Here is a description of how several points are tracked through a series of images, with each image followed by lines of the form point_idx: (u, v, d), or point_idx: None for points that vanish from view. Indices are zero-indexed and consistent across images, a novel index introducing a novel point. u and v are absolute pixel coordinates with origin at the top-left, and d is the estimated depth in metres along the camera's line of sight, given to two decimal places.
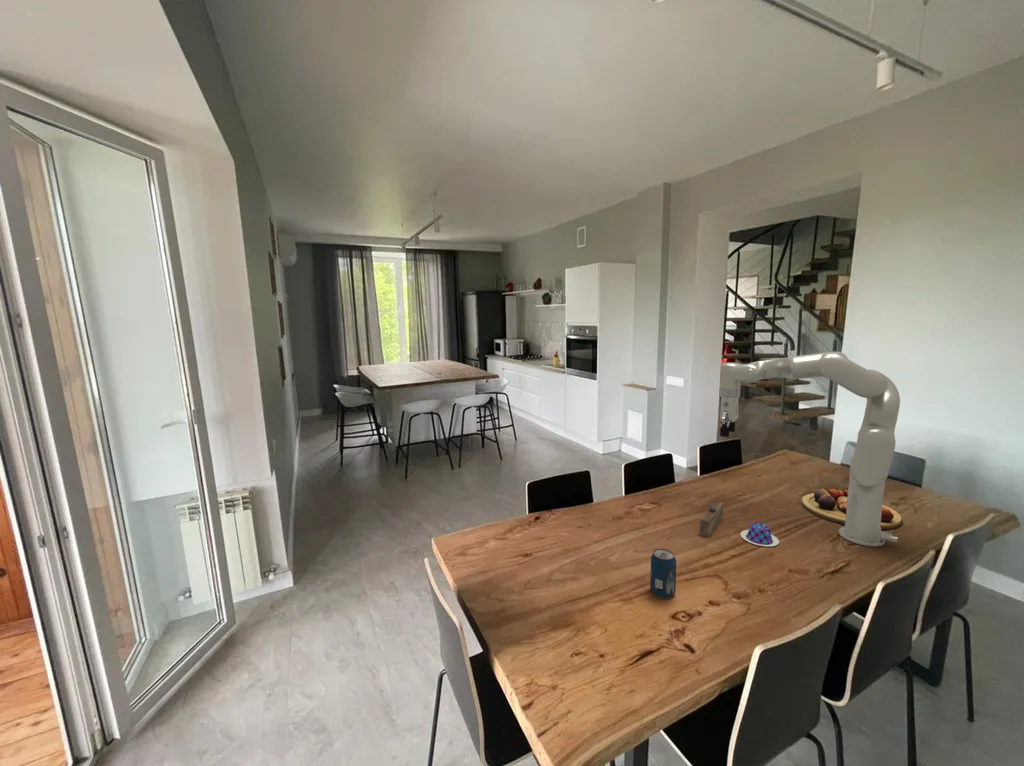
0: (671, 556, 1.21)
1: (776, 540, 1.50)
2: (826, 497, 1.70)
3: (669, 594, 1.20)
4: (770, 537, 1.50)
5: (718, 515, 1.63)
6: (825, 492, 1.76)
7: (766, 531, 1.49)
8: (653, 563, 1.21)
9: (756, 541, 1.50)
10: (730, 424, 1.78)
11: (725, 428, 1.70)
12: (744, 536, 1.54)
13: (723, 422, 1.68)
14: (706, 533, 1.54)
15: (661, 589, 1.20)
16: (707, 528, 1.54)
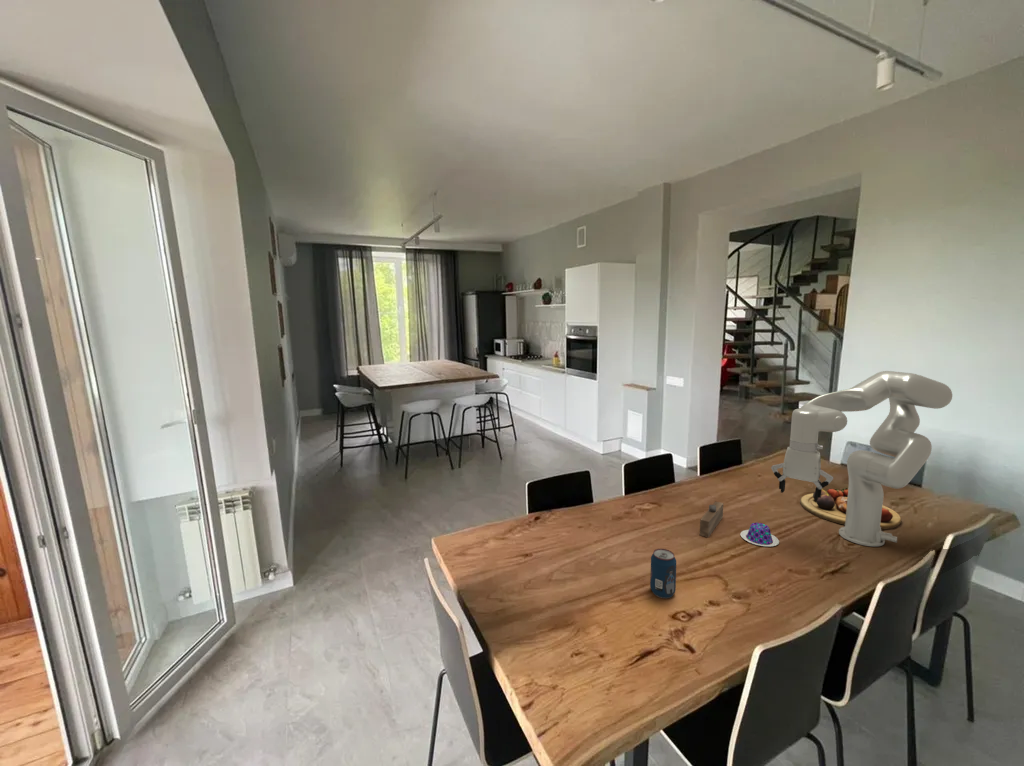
0: (671, 556, 1.21)
1: (776, 540, 1.50)
2: (825, 497, 1.70)
3: (669, 594, 1.20)
4: (770, 537, 1.50)
5: (718, 515, 1.63)
6: (824, 492, 1.76)
7: (766, 531, 1.49)
8: (653, 563, 1.21)
9: (756, 541, 1.50)
10: (784, 483, 1.46)
11: (821, 488, 1.39)
12: (744, 536, 1.54)
13: (829, 482, 1.37)
14: (706, 533, 1.54)
15: (661, 589, 1.20)
16: (707, 528, 1.54)
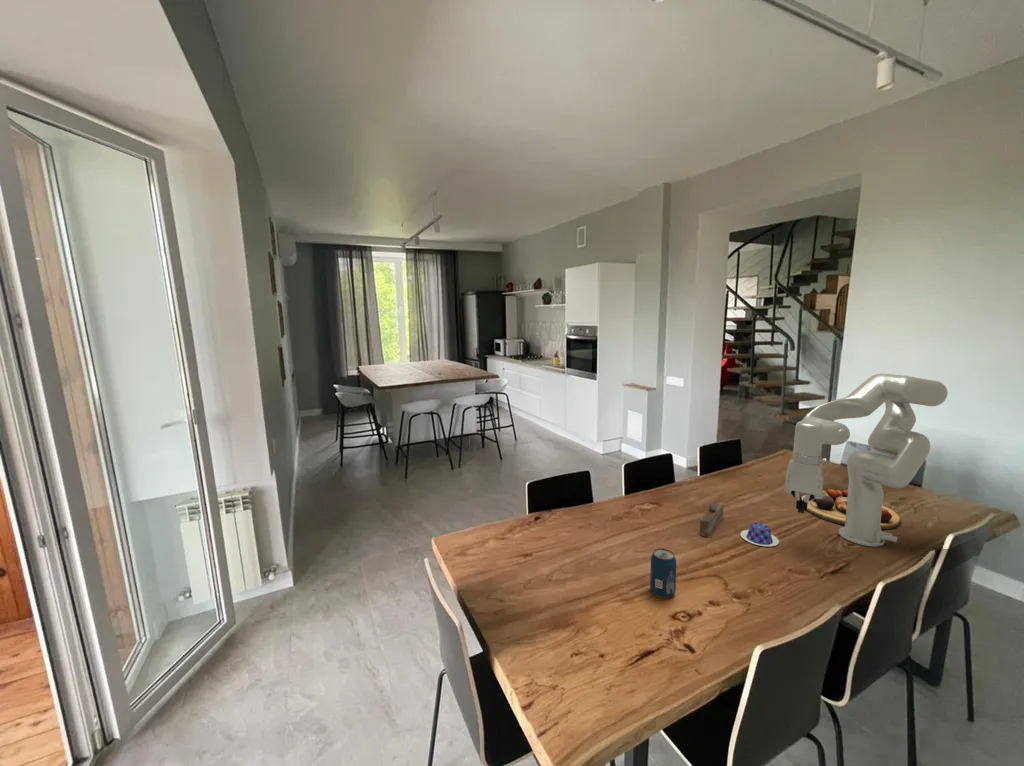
0: (671, 556, 1.21)
1: (776, 540, 1.51)
2: (824, 497, 1.69)
3: (669, 594, 1.20)
4: (770, 537, 1.50)
5: (718, 515, 1.63)
6: (823, 492, 1.76)
7: (766, 531, 1.49)
8: (653, 563, 1.21)
9: (756, 541, 1.50)
10: None
11: (807, 502, 1.41)
12: (744, 536, 1.54)
13: None
14: (706, 533, 1.54)
15: (661, 589, 1.20)
16: (707, 528, 1.54)
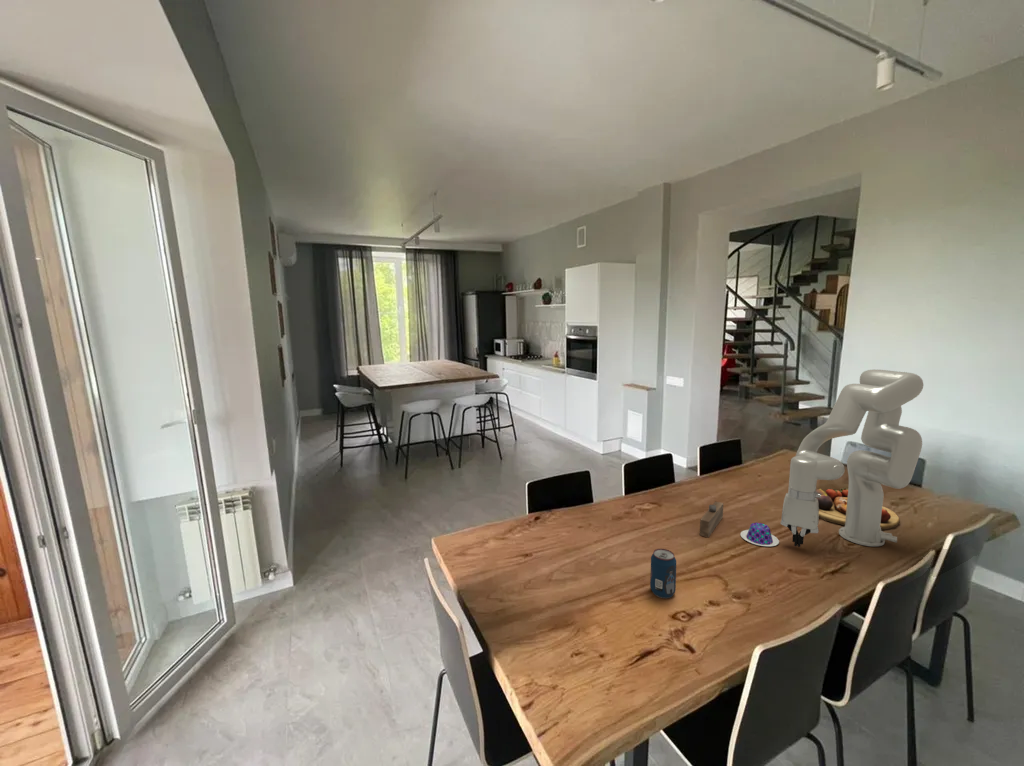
0: (671, 556, 1.21)
1: (776, 539, 1.51)
2: (823, 497, 1.69)
3: (669, 594, 1.20)
4: (770, 537, 1.50)
5: (718, 515, 1.63)
6: (822, 492, 1.76)
7: (767, 531, 1.49)
8: (653, 563, 1.21)
9: (757, 541, 1.49)
10: None
11: (803, 535, 1.44)
12: (744, 536, 1.54)
13: None
14: (706, 533, 1.54)
15: (661, 589, 1.20)
16: (707, 528, 1.54)
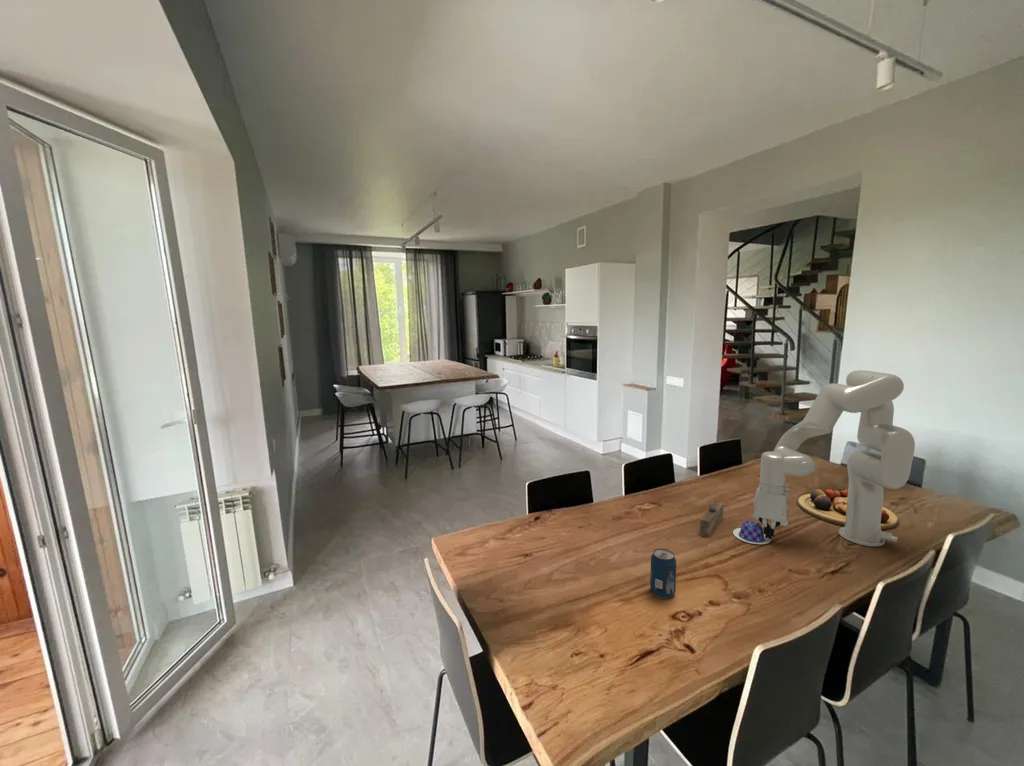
0: (671, 556, 1.21)
1: None
2: (822, 497, 1.69)
3: (669, 594, 1.20)
4: (762, 535, 1.51)
5: (718, 515, 1.63)
6: (821, 492, 1.76)
7: (759, 529, 1.50)
8: (653, 563, 1.21)
9: (749, 539, 1.51)
10: None
11: None
12: (737, 535, 1.55)
13: None
14: (706, 533, 1.54)
15: (661, 589, 1.20)
16: (707, 528, 1.54)
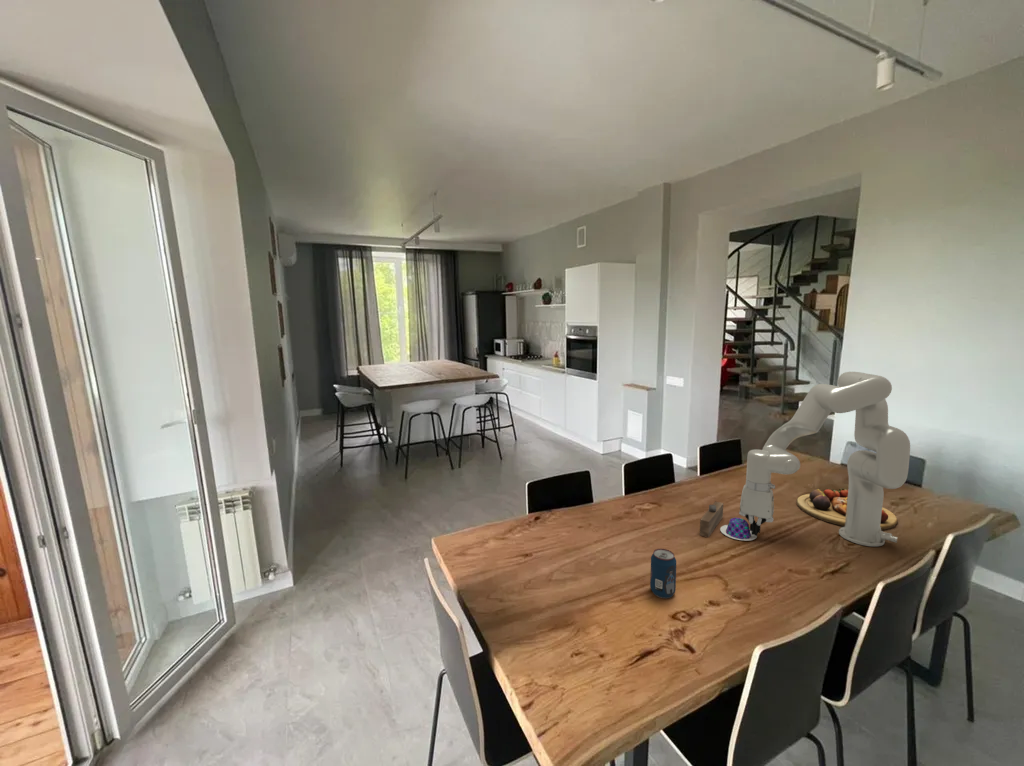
0: (671, 556, 1.21)
1: None
2: (821, 497, 1.69)
3: (669, 594, 1.20)
4: (749, 531, 1.54)
5: (718, 515, 1.63)
6: (820, 492, 1.75)
7: (745, 525, 1.53)
8: (653, 563, 1.21)
9: (736, 536, 1.53)
10: None
11: (760, 524, 1.52)
12: (724, 532, 1.57)
13: None
14: (706, 533, 1.54)
15: (661, 589, 1.20)
16: (707, 528, 1.54)
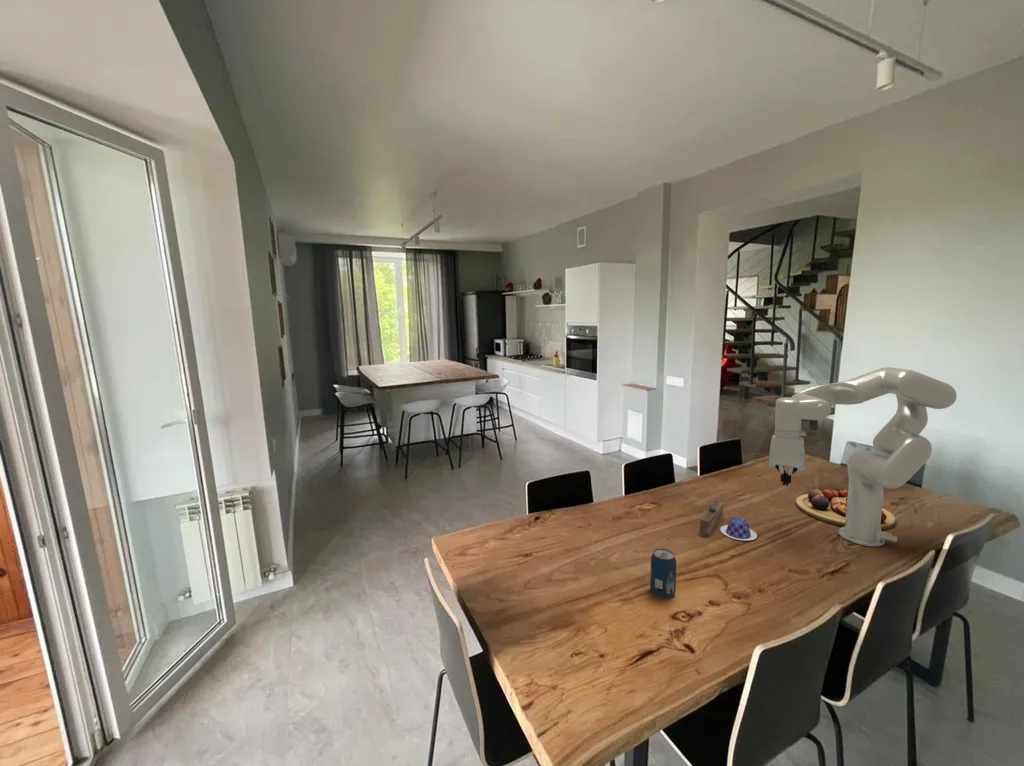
0: (671, 556, 1.21)
1: (754, 534, 1.55)
2: (819, 497, 1.69)
3: (669, 594, 1.20)
4: (749, 531, 1.54)
5: (718, 515, 1.63)
6: (819, 493, 1.75)
7: (745, 526, 1.53)
8: (653, 563, 1.21)
9: (736, 536, 1.54)
10: None
11: (791, 474, 1.48)
12: (724, 531, 1.58)
13: None
14: (706, 533, 1.54)
15: (661, 589, 1.20)
16: (707, 528, 1.54)
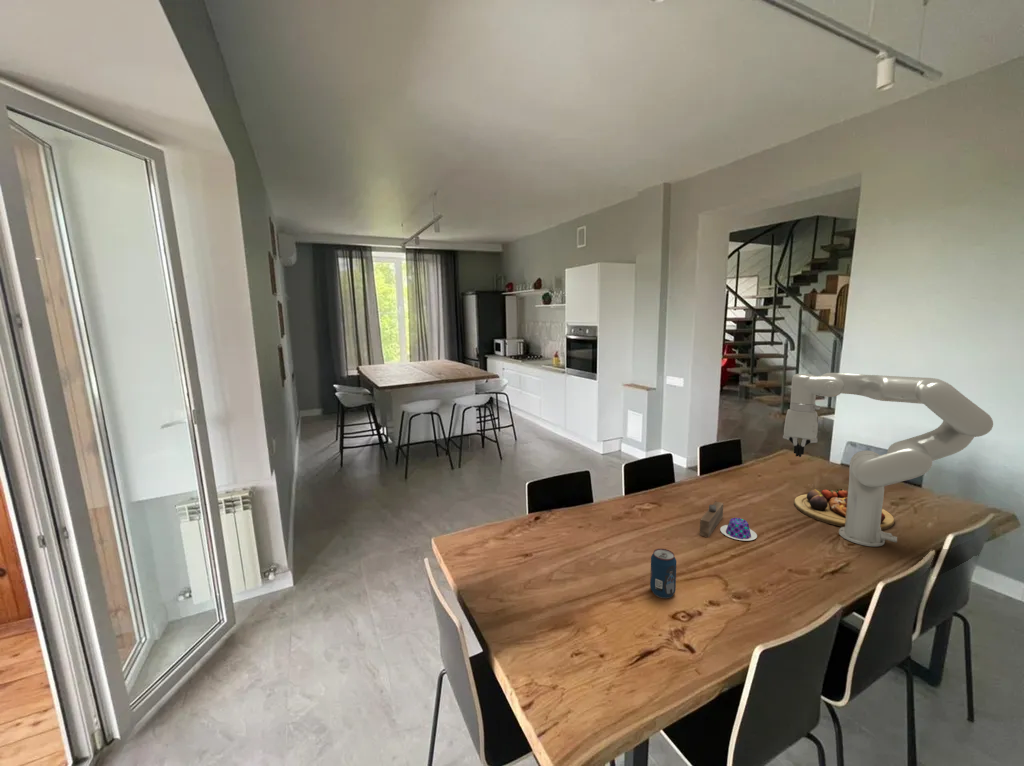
0: (671, 556, 1.21)
1: (754, 534, 1.55)
2: (818, 497, 1.69)
3: (669, 594, 1.20)
4: (749, 531, 1.54)
5: (718, 515, 1.63)
6: (818, 493, 1.75)
7: (745, 526, 1.53)
8: (653, 563, 1.21)
9: (736, 536, 1.53)
10: None
11: None
12: (724, 531, 1.57)
13: None
14: (706, 533, 1.54)
15: (661, 589, 1.20)
16: (707, 528, 1.54)
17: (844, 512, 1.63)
